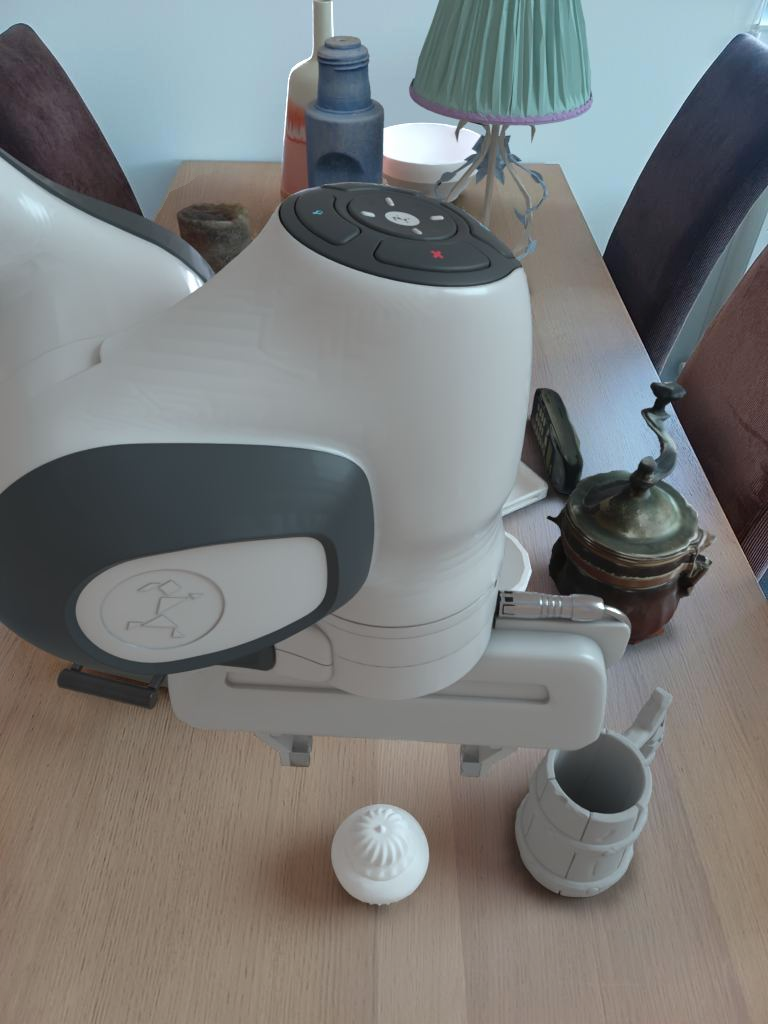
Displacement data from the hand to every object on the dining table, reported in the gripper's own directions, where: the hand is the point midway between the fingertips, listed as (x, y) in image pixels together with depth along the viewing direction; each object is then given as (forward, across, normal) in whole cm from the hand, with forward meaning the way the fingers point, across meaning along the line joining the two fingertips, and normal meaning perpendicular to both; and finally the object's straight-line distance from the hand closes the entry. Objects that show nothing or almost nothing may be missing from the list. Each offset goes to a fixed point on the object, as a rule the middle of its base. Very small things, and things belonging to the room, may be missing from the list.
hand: (385, 760), depth 43 cm
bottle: (+15, +10, -81) cm, 83 cm away
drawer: (+13, +18, -18) cm, 29 cm away
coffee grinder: (+15, -18, -26) cm, 35 cm away
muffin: (+14, 0, 0) cm, 15 cm away
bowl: (+15, -1, -114) cm, 115 cm away
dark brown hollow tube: (+14, +20, -57) cm, 62 cm away
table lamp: (+15, -9, -82) cm, 83 cm away
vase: (+15, +14, -102) cm, 105 cm away
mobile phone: (+15, -16, -44) cm, 49 cm away
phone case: (+15, -7, -42) cm, 45 cm away
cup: (+15, -5, -15) cm, 22 cm away
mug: (+15, -14, -4) cm, 21 cm away
